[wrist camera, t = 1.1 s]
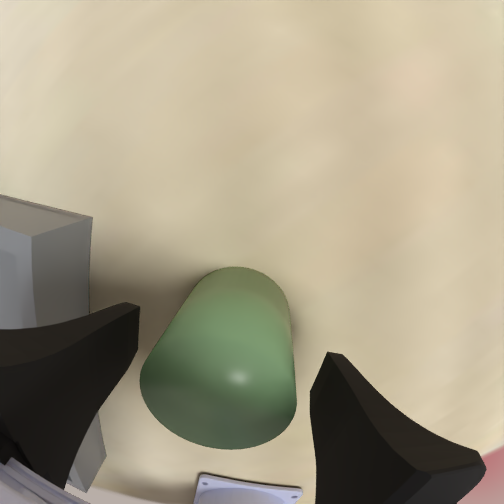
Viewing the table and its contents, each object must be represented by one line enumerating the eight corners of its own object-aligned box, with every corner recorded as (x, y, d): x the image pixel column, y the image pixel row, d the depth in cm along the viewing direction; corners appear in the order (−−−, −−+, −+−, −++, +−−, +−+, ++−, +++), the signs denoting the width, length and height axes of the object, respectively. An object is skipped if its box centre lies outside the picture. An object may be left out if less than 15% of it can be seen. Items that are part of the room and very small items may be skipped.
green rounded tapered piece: (274, 366, 14) (272, 459, 9) (182, 344, 15) (140, 426, 9) (302, 280, 13) (319, 358, 7) (196, 255, 13) (142, 315, 7)
